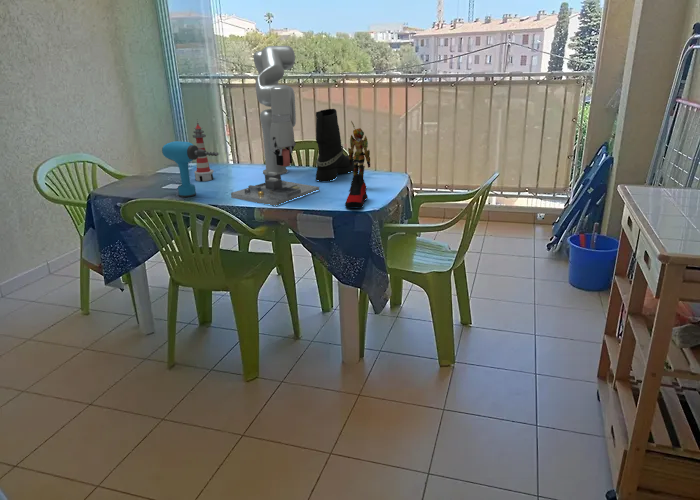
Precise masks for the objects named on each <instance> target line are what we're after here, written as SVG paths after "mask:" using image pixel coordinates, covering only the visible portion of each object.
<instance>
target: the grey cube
mask: <svg viewBox="0 0 700 500" xmlns="http://www.w3.org/2000/svg"><path fill="white" fill-rule="evenodd" d="M282 181H283V180H282V179H281V180H280V179H277V178H269V180H266V181H265V180H264V183H265V186H266V188H269V189H274V190H277V189H280V188H282Z"/></svg>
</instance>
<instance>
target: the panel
mask: <svg viewBox="0 0 700 500" xmlns="http://www.w3.org/2000/svg"><path fill="white" fill-rule="evenodd" d="M316 190H319V191H320V186H315V185H310V184H305V183H304V184H303V183H297V182H293V181H287V180H282V188H280V189H277V190H274V189H269V188H266V186H265V182H262V183H259V184H255V185H251V184H250V185H248V187H246V188H243V189H239V190H236V191H232V192H230V197H231V198H232V199H237V200H241V201H247V202H251V203H256V202H257V203H256V204H260V203H264V204H263V205H265V204H270V205H275V206H276V205H279V204H281V203H284V202H286V201H289V200H292V199H294V198H297V197H300V196H303V195H306V194H308V193H311V192H313V191H316ZM270 205H269V206H270ZM275 206H274V207H275ZM279 206H280V205H279ZM276 207H277V206H276Z"/></svg>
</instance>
